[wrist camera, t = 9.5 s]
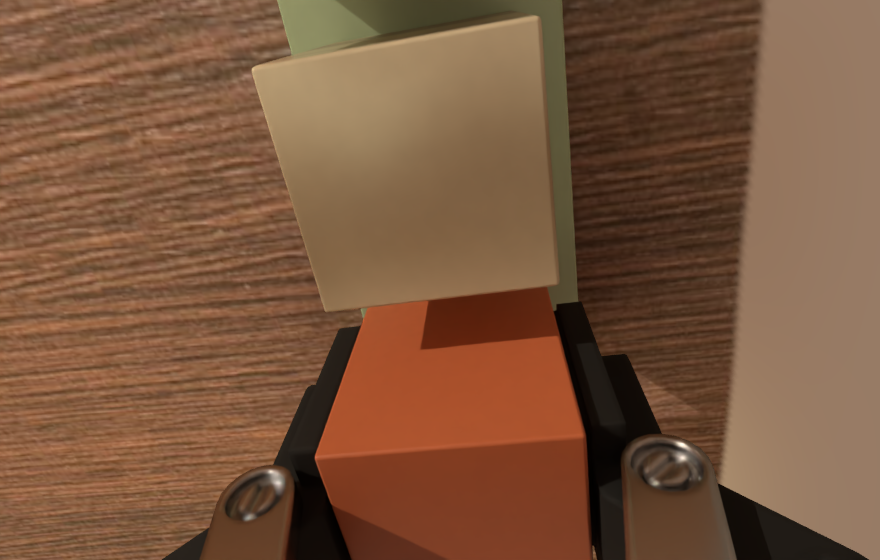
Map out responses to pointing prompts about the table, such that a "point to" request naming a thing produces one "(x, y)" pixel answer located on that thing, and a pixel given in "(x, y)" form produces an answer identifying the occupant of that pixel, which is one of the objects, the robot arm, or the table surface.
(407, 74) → the word board
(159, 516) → the table surface
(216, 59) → the table surface
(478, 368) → the terracotta cube
